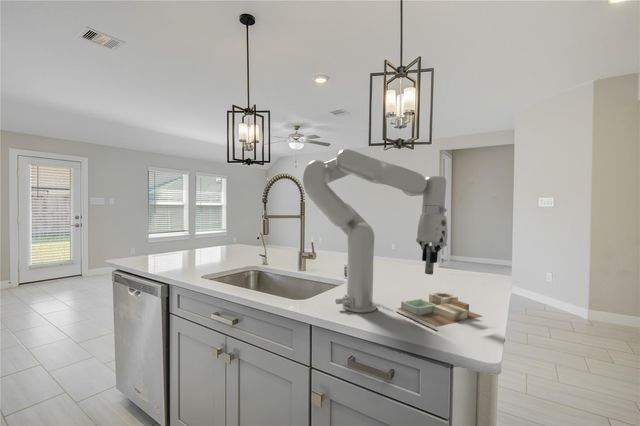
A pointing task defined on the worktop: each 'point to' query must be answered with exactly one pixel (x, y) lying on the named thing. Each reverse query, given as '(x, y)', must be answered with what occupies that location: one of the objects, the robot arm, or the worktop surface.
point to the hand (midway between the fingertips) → (429, 261)
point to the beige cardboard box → (450, 312)
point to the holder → (441, 298)
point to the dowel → (428, 261)
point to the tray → (417, 307)
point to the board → (440, 320)
